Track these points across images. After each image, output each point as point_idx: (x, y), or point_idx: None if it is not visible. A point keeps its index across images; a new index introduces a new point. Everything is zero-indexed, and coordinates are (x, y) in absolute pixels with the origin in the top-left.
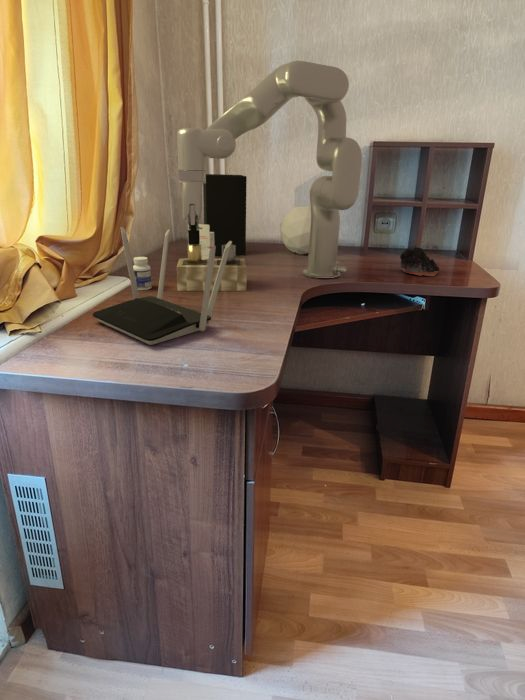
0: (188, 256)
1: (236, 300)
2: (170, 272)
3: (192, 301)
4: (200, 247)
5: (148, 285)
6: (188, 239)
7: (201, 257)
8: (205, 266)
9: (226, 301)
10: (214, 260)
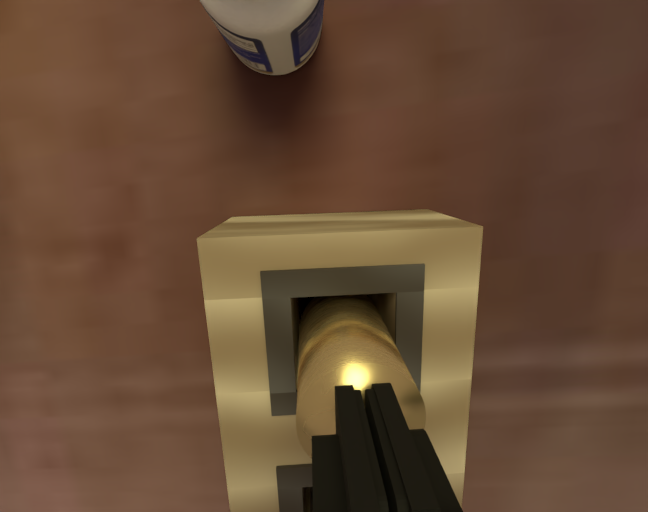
0: (324, 325)
1: (116, 455)
2: (617, 135)
3: (68, 298)
4: None
5: (239, 57)
6: (340, 416)
7: None
8: (233, 410)
9: (95, 423)
10: None
